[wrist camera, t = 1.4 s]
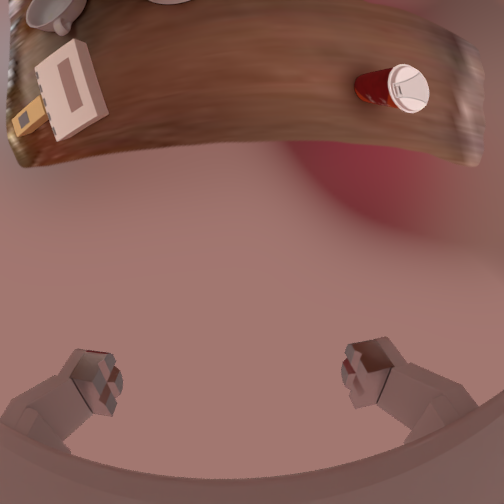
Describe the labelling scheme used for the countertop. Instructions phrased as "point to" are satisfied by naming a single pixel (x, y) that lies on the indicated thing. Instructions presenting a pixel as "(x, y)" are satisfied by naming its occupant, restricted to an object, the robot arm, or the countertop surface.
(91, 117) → the ticket block
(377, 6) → the countertop surface
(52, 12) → the teacup
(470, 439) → the robot arm
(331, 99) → the countertop surface
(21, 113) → the stub
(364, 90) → the paper cup
